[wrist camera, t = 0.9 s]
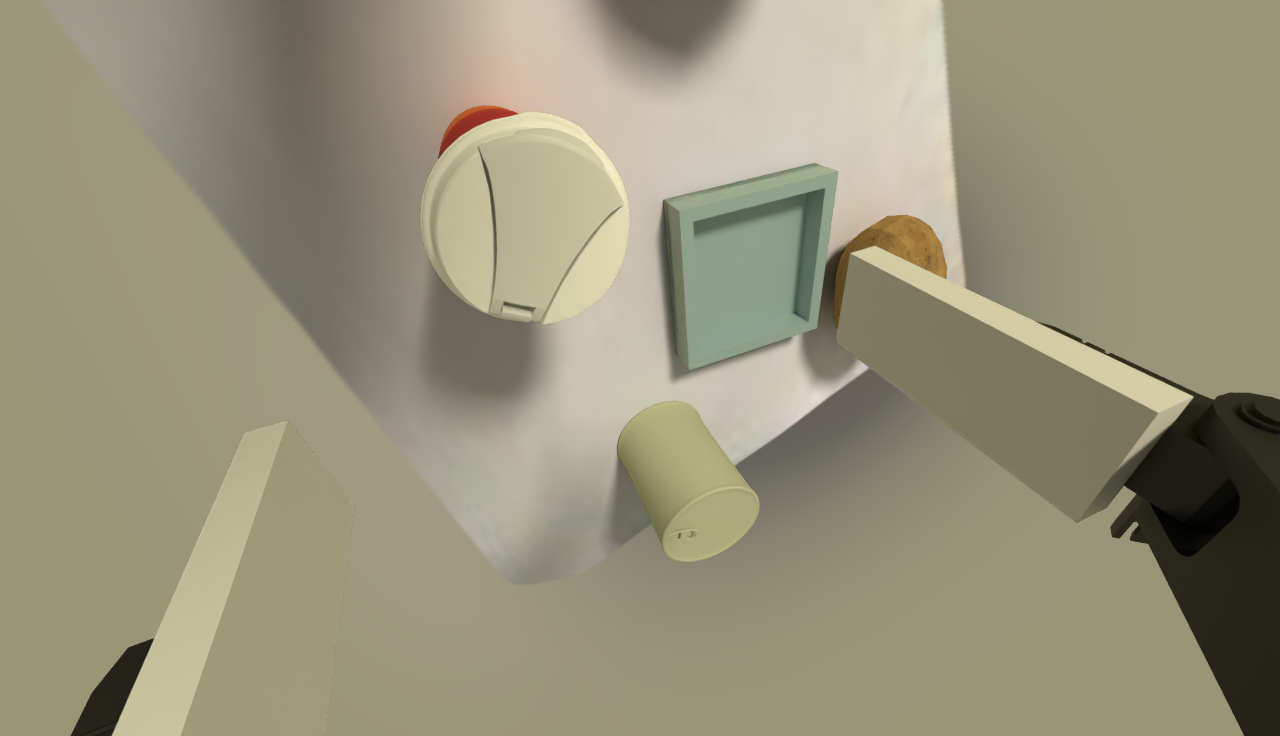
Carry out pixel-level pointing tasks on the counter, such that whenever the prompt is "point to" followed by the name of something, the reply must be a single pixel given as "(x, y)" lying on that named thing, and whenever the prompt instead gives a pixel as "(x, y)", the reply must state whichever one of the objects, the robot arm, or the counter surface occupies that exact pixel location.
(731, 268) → the tray
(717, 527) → the can
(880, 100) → the counter surface
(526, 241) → the coffee cup
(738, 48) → the counter surface
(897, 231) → the potato
